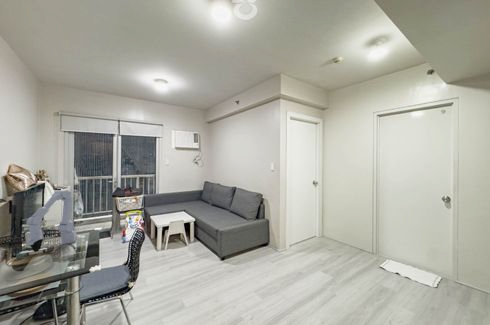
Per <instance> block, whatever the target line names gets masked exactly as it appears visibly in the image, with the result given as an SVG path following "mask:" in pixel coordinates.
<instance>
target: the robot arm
mask: <svg viewBox="0 0 490 325" xmlns="http://www.w3.org/2000/svg"><path fill="white" fill-rule="evenodd" d="M60 200H62V202H63V206H62V217H61V221H60V222H59V224H58V227H57V231H59V232H60V239H61V242H60V244H59V245H62V244H63V245H66V243H67V244H72V243H75V242H76V241H77V240H78V238H77V231H76V230H74V229H75V228H74V227H75V226H74V221H72V220H71V219H72V210H73V196H72V192H71V191H70V190H67V189H65V190H63V189H61V190H59V189H58V190H55V191H54V192H53V193H52V194H51V197H50V198H49V199H48V201H46V203H44V205H43V206H42V207H39V208H37V209H36V211H35V213H33V214H32V215H31V216H30V217H28V218H27V220H26V222H25V223H26V225H27V226H28V230H29V231H28V232H30V239H29V240H28V241H30V242H29V245H30V246H31V247H32V248H31V250H33V251H34V252H37V251H38V250H39V249H41V248H42V245H41V244H42V241H43V239H44V234H43V235H41V230H42V229H41V223H42V221H43V218H44V217H45V216H46V215H47V213H48V212H49V209H50V208H51V207H52V206H53V205H54V204H55V203H56V202H57V201H60ZM42 238H43V239H42Z"/></svg>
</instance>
